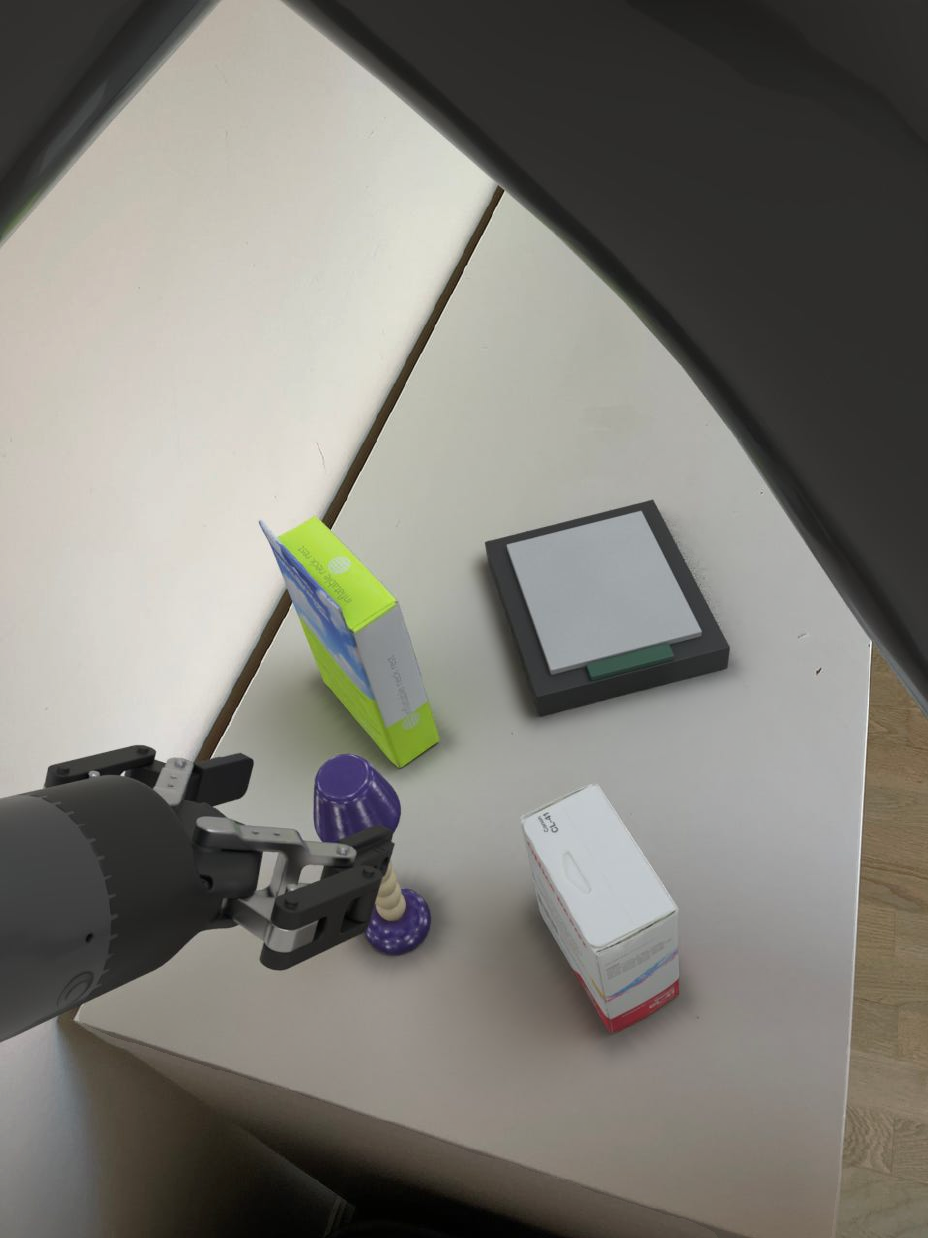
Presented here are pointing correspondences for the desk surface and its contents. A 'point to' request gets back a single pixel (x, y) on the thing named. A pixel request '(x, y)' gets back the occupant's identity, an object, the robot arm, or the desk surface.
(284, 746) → the desk surface
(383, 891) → the toy lamp
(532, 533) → the scale
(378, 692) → the box
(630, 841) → the ink box
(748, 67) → the robot arm
